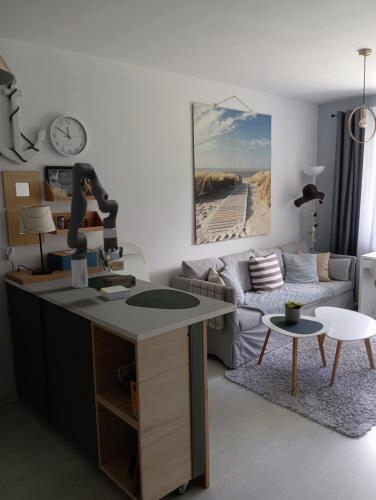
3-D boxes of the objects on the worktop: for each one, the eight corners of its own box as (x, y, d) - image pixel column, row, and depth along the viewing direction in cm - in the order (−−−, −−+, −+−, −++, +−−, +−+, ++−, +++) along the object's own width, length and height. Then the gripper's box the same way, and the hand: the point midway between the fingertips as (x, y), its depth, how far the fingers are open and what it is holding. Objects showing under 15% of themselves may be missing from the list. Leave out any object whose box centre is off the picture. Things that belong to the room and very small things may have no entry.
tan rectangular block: (103, 267, 229) (103, 258, 228) (113, 266, 232) (113, 257, 231) (113, 271, 217) (113, 261, 216) (124, 269, 220) (123, 260, 220)
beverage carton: (136, 286, 250) (136, 275, 249) (106, 290, 240) (105, 279, 239) (131, 283, 256) (131, 273, 255) (102, 288, 247) (101, 277, 246)
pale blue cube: (109, 259, 223) (109, 252, 223) (116, 258, 226) (115, 251, 225) (112, 260, 220) (112, 253, 219) (119, 259, 222) (119, 252, 222)
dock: (101, 295, 228) (100, 288, 227) (120, 292, 234) (120, 285, 234) (110, 300, 217) (109, 292, 217) (130, 296, 224) (130, 289, 223)
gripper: (119, 234, 231) (120, 263, 233) (95, 236, 223) (96, 266, 226) (125, 235, 225) (126, 265, 227) (100, 238, 217) (101, 268, 219)
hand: (111, 266), depth 226 cm, fingers closed on tan rectangular block, 6 cm apart
